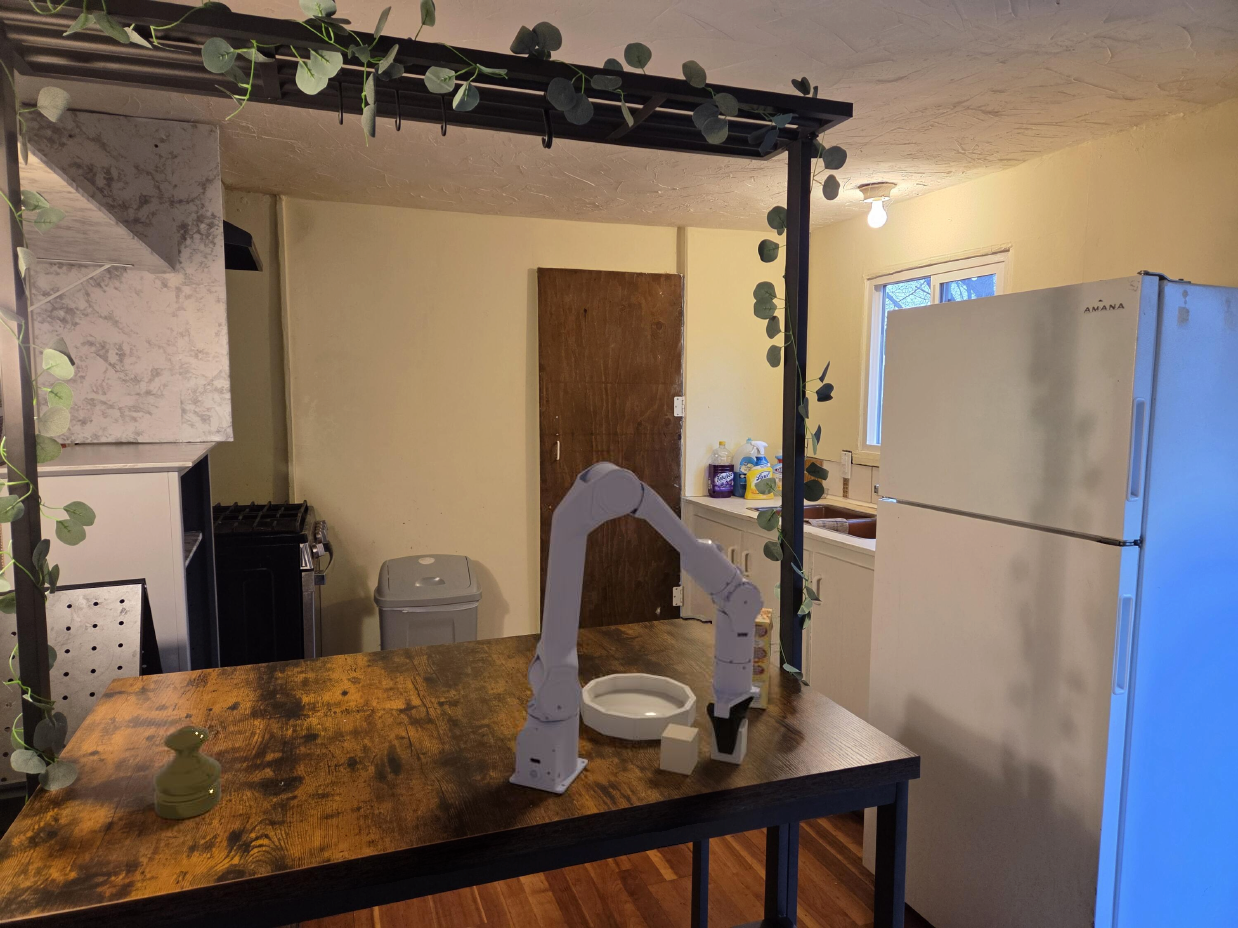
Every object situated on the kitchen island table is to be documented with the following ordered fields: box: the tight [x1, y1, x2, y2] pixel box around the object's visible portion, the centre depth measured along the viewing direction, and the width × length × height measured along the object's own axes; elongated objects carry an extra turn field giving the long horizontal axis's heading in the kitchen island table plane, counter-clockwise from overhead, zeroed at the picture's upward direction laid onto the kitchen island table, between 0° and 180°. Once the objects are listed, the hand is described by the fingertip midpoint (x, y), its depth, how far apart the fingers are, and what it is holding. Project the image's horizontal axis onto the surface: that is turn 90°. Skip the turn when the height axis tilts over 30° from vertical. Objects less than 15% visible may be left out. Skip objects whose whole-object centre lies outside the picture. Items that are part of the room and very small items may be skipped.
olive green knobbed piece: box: [153, 725, 222, 820], centre depth 98 cm, size 7×7×10 cm
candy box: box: [749, 607, 773, 710], centre depth 137 cm, size 9×4×15 cm, turn 167°
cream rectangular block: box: [659, 724, 700, 776], centre depth 113 cm, size 4×4×5 cm
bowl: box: [579, 672, 697, 741], centre depth 130 cm, size 18×18×4 cm
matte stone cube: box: [710, 718, 749, 765], centre depth 116 cm, size 4×4×5 cm
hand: (729, 745), depth 116 cm, fingers closed on matte stone cube, 4 cm apart
